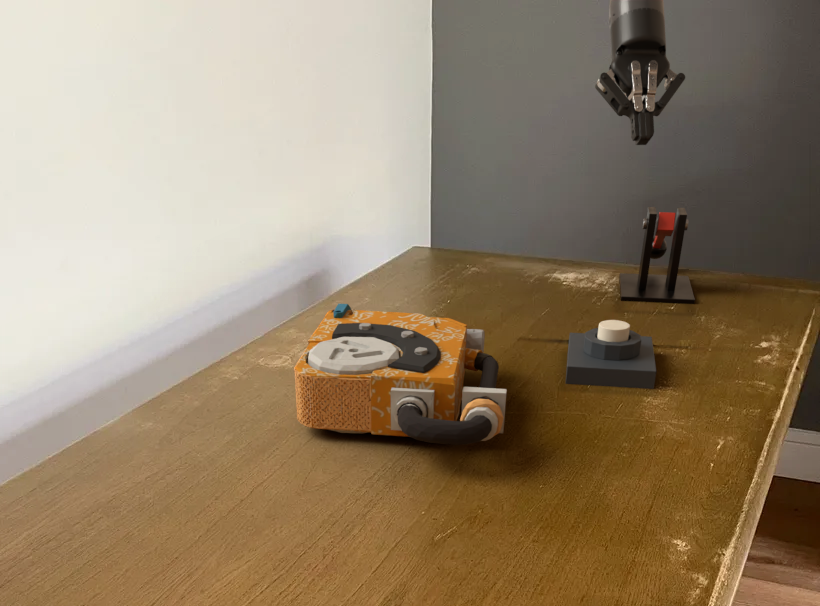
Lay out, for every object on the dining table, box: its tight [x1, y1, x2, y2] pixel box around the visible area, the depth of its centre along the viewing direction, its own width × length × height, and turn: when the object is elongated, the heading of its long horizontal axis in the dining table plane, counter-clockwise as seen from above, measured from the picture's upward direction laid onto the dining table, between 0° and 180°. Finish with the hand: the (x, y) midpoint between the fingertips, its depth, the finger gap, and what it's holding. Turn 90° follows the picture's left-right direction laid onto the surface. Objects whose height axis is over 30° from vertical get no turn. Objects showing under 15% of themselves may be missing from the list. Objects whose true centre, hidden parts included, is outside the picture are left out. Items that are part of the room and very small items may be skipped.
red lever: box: [650, 211, 677, 260], centre depth 139 cm, size 14×3×3 cm, turn 169°
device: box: [293, 303, 508, 446], centre depth 103 cm, size 23×8×30 cm
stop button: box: [597, 319, 631, 342], centre depth 113 cm, size 4×4×2 cm
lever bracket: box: [618, 206, 696, 305], centre depth 136 cm, size 12×10×12 cm
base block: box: [565, 327, 657, 390], centre depth 114 cm, size 12×10×4 cm
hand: (643, 142), depth 136 cm, fingers closed
